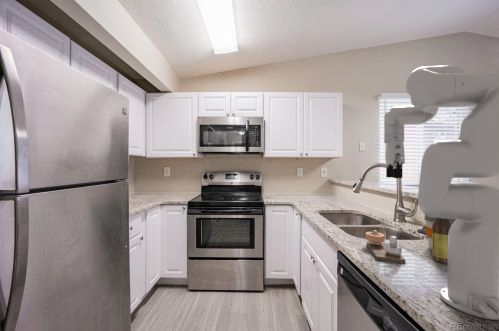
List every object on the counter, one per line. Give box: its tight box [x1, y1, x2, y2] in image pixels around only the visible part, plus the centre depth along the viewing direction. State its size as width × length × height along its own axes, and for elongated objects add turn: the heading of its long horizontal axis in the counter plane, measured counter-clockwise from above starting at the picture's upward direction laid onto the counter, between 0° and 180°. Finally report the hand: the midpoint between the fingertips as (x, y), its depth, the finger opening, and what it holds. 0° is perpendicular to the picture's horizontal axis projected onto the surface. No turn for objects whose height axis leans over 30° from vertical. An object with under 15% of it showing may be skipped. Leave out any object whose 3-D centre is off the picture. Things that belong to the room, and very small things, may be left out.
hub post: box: [369, 229, 383, 246], centre depth 100 cm, size 5×5×6 cm
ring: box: [365, 231, 385, 243], centre depth 100 cm, size 7×7×2 cm
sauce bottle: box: [431, 218, 451, 264], centre depth 87 cm, size 7×6×20 cm
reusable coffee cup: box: [423, 214, 456, 250], centre depth 99 cm, size 13×13×15 cm
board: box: [366, 240, 406, 264], centre depth 94 cm, size 18×10×2 cm, turn 163°
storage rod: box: [386, 235, 402, 258], centre depth 88 cm, size 5×5×7 cm
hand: (393, 177), depth 101 cm, fingers open, 9 cm apart
